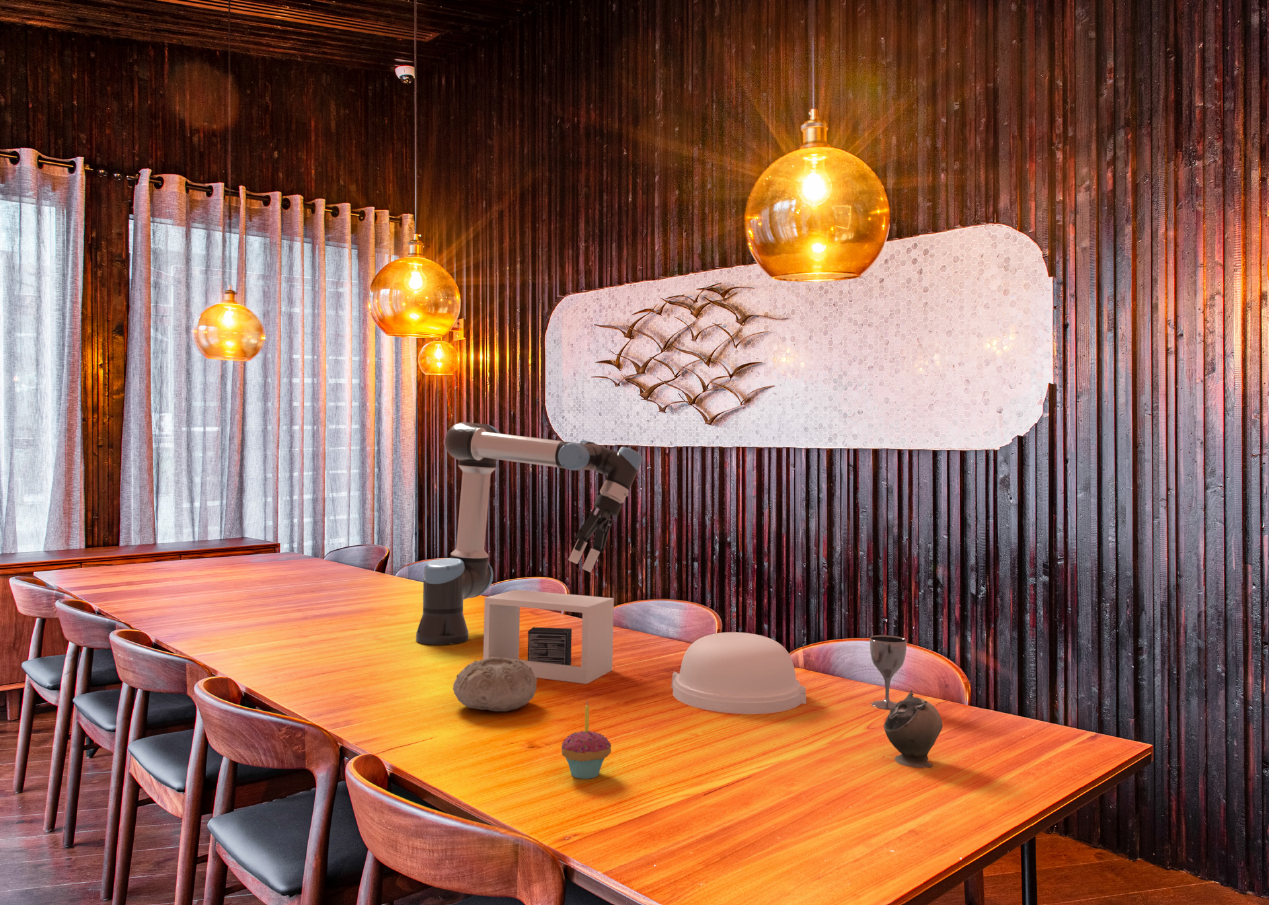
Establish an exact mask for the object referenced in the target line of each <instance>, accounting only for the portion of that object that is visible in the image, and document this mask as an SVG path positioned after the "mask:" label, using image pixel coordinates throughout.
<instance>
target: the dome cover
mask: <svg viewBox="0 0 1269 905" xmlns="http://www.w3.org/2000/svg"><path fill="white" fill-rule="evenodd" d="M671 689H672V695H673V697H674V698H675V699H676V701H679V702H680V703H683V704H685V705H687V706H689V707H690V706H691V707H694V708H698V709H699V710H706V711H711V712H715V713H724V714H725V713H727V714H739V715H743V714H744V715H757V714H758V715H759V714H760V715H761V714H773V713H780V712H785V711H789V710H792V709H795V708H797V707H799V706H801V705H803V704H807V692H806V690H807V689H806V687H805V685H801V682H800V681H799V680H797V676H796V670H795V666H794V662H793V659H792V656H791V655H790V653H789V651H787V649H786V648H785V647H784V646H783V645H782V644H781V643H779V642H777V641H776V640H774V639H772V638H769V637H767V636H765V635H761V634H759V635H758V634H755V633H749V632H734V631H729V632H718V633H712V634H707V635H704V636H702V637H700V638H698V639H696V640H695V641H694V642H692V643H691V644H690V645H689V646H688V648H687V649H686V651H685V653H684V655H683V657H682V661H681V665H680V669H679V672H677V671H673V672H672V678H671Z"/></svg>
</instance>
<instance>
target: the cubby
mask: <svg viewBox="0 0 1269 905" xmlns="http://www.w3.org/2000/svg"><path fill="white" fill-rule="evenodd" d="M614 601H615V600H614V597H603V596H595V595H594V596H592V595H582V594H581V595H579V594H567V593H557V592H545V591H534V590H533V591H532V590H521V589H512V590H509V591H506V592H501V593H498V594H494V595H490V596H487V597H484V608H483V609H484V615H483V617H484V618H483V619H484V620H483V652H482V653H483V657H482V660H483V659H488V658H489V657H491V658H494V657H498V658H500V657H502V658H504V659H516V660H520V661H522V662H523V663H525V664H526V665H528V667H531V668H532V671H533V673H534V675H535V677H536V678H537V679H545V680H552V681H553V680H554V681H560V682H561V681H562V682H568V683H569V682H571V683H577V684H582V685H583V684H585V685H587V684H589V683H591V682H593V681H595V680H597V679H598V678H601V677H602V676H604V675H606V674H608V673H610V672H611V671H613V656H614V654H613V652H614V651H613V650H614V607H615V606H614V603H615V602H614ZM521 608H527V609H537V610H538V609H539V610H549V611H561V612H570V613H571V612H572V613H581V614H582V620H581V622H582V624H581V629H582V630H581V660H580V661H581V663H580V664H581V666H575V665H571V666H568V665H560V664H552V663H543V662H535V661H528V659H527V660H526V659H525V660H524V659H519V658H520V657H519V656H520V654H519V653H520V622H521V621H520V616H521V615H520V614H521Z"/></svg>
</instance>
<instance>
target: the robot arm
mask: <svg viewBox="0 0 1269 905" xmlns="http://www.w3.org/2000/svg"><path fill="white" fill-rule="evenodd" d="M444 446H445V447H444V448H445V450H446V451H447V453H448V455H450V456H451V457H452V458H454V459H455V460H458V461H457V462H458V465H457V467H459V469H460V470H461V472H462V476H461V487H460V488H461V489H460V499H459V513H458V524H457V536H456V548H455V549H454V550H453V551H452V552H450V557H449V558H448V557H447V558H440V559H439V558H437V559H434V560H431V561H428V562H427V563H426V564H425V565H424V568H423V574H422V579H423V584H422V587H423V588H422V590H423V591H422V593H423V594H422V616H421V618H420V621H419V624H418V627H417V629H416V635H415V641H416V643H417V642H418V643H419V644H424V645H431V646H432V645H433V646H434V645H435V646H442V645H443V646H444V645H456V644H461V643H465V642H467V641H468V640H469V630H468V627H467V622H466V618H465V616H464V600H466V599H472V598H477V597H479V596H480V595H482V594H484V593H485V592H487V591H488V590H489V588H490V587H491V586H492V583H493V581H494V571H493V568H492V566H491V564H490V562H489V558H490V556H489V553H487V552H486V550H485V544H486V531H487V521H488V508H489V496H490V485H491V484H490V483H491V475H492V473H493V472H494V471H495V470H496V469H497V460H501V461H508V462H515V463H522V464H523V463H524V464H530V465H531V464H532V465H536V466H537V465H538V466H546V467H553V468H561V469H565V470H570V471H579V470H580V471H581V470H582V471H586V470H587V471H594V472H597V473H600V474H602V475H604V476H606V478H605V480H604V482H603V484H602V486H601V488H600V490H599V493H600V494H599V495H597V497H596V498H595V499H596V500H595V501H594V504H593V505H594V506H593V508H592V511H591V512H590V514H589V515H588V516H587V518H586V520H585V521H584V523H583V524H582V525H581V527H580V528H579V530H578V531H577V533H576V534H575V538H578V539H577V541H576V543H575V544H574V547H573V549H572V551H571V553H570V555H569V557H568V559H567V560H568V561H569V562H572V563H574V564H577V565H578V564H579V561H580V559H581V558H582V555H583V553H584V551H585V549H586V546H587V544H588V542H587V541H588V540H589V539H590V538H591V536H592V535H593V534H594V533H595V534H594V538H593V539H594V540H593V544H592V548H590V550H589V552H588V554H587V557H586V559H585V561H584V563H583V565H582V567H581V569H582V570H584V571H586V572H589V573H591V572H592V570H593V568H594V566H595V564H596V562H597V560H598V558H599V556H600V553H602V554H603V553H604V551H605V547H606V544H607V540H608V537H609V534H610V530H611V527H612V525H613V523H614V520H613V519H611V517H612V516H613V517H618V516H619V514H620V511H621V509H622V507H623V506H622V504H623V503H624V502H625V501H626V498H627V497H629V491H630V489H631V487H632V485H633V482H634V481H635V479H636V476H637V474H638V472H639V470H640V467H641V465H642V462H643V456H642V454H640V453H639V452H638V451H636V450H634V449H632V448H631V447H625V446H620V448H619V450H618V451H615V450H613V449H609V448H607V447H604V446H603V445H602V446H601V445H599V444H597V443H595V442H593V441H588V440H586V439H583V440H580V442H572V441H571V442H570V441H562V440H556V439H555V440H554V439H549V438H548V439H547V438H539V437H531V436H522V435H516V434H515V435H513V434H507V433H501V432H500V431H499V429H497V428H496V427H495V426H492V425H489V424H488V423H487V424H485V423H476V422H475V423H474V422H466V421H465V422H458V423H456V424H453V426H451V427H450V428H449V429H448V430H447V432H446V434H445V438H444Z"/></svg>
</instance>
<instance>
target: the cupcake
mask: <svg viewBox="0 0 1269 905" xmlns="http://www.w3.org/2000/svg"><path fill="white" fill-rule="evenodd" d="M588 704H589V701H588V700H586V705H585V706H584V731H583V730H580V731H576V732H573V733H571V734H569V735H567V737H566V738H565V739H564V740H563V741H562V743H561V744H562V745H561V755H562V756H563V757H564V758H565V760H566V762H567V764H568V767H569V770H570V773H571V776H572V777H574V778H576V779H580V780H581V779H582V780H585V779H586V780H589V779H594V778H596V777H598V776H599V775H600V773H601V772H600V771H601V769H602V765H603V763H604V760H605V758H607V757H608V756H609V755H610V754H611V753H612V742H610V741H609V739H608V738H607V737H606V736H604V734H601V733H599V732H596V731H591V730H589V729H590V728H589V727H590V726H589V724H590V723H589V722H590V706H589V705H588Z"/></svg>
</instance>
